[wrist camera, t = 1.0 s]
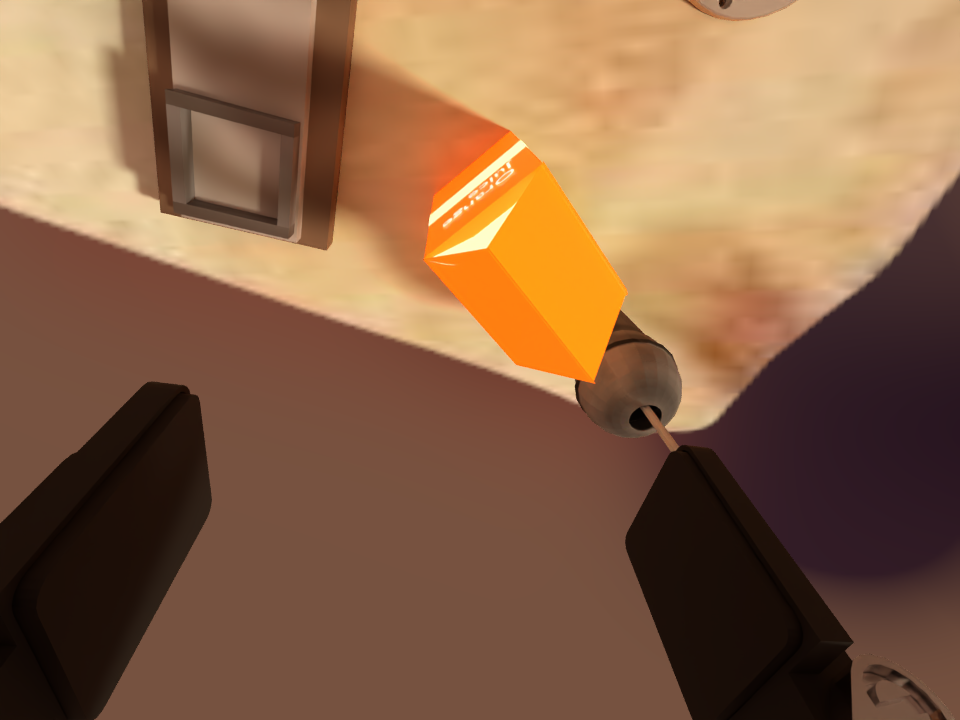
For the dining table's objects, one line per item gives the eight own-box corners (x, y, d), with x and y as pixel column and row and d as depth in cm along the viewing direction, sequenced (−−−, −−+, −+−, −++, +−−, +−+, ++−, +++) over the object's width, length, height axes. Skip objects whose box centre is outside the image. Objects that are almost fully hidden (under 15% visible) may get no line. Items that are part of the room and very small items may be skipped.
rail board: (141, -254, 24) (-62, -468, 15) (374, -164, 26) (329, -298, 17) (174, 205, 36) (74, 253, 27) (332, 242, 38) (292, 298, 29)
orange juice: (511, 128, 34) (568, 183, 17) (573, 222, 38) (670, 341, 21) (431, 196, 37) (412, 303, 20) (497, 278, 41) (529, 426, 24)
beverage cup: (546, 349, 45) (603, 519, 28) (548, 277, 41) (616, 424, 24) (621, 343, 45) (724, 509, 28) (630, 272, 41) (757, 414, 24)
